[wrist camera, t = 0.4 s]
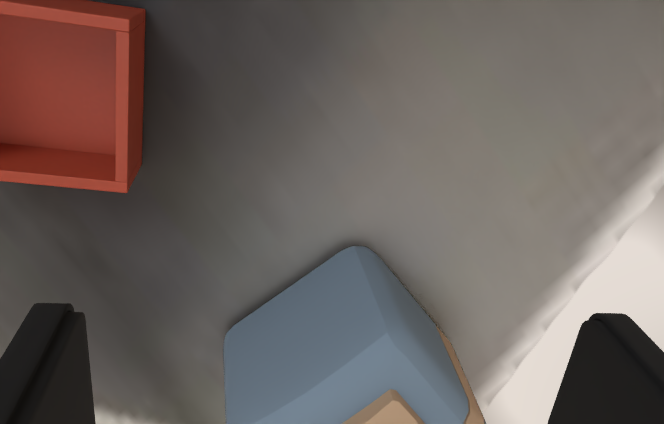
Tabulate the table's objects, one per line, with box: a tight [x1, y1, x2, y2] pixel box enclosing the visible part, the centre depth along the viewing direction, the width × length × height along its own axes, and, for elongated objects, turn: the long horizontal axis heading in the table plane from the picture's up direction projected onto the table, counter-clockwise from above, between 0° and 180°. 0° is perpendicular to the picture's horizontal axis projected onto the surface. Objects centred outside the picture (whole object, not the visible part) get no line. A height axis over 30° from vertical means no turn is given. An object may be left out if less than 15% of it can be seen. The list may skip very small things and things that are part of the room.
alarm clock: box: [223, 246, 486, 424], centre depth 47 cm, size 16×16×16 cm
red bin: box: [0, 0, 146, 193], centre depth 39 cm, size 12×12×6 cm
